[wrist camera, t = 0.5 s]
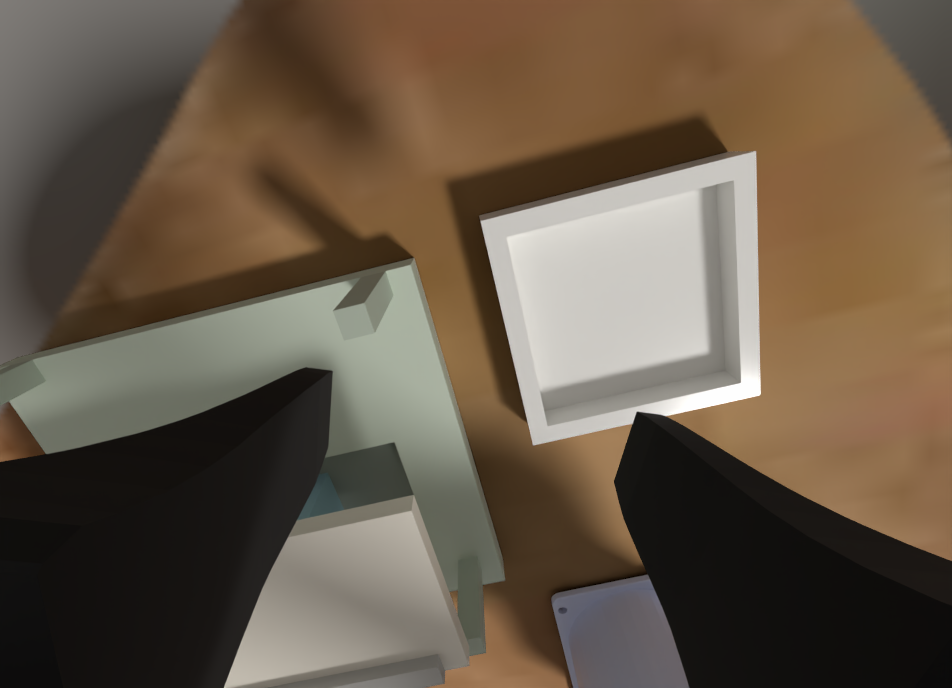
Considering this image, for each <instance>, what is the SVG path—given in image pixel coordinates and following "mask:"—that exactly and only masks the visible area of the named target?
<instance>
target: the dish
mask: <svg viewBox="0 0 952 688" xmlns="http://www.w3.org/2000/svg"><path fill="white" fill-rule="evenodd" d="M479 218H480V222H481V227H482V231H483V235H484V239H485V244H486V248H487V252H488V256H489V261H490V265H491V269H492V273H493V278H494V282H495V286H496V290H497V295H498V299H499V303H500V308H501V312H502V316H503V320H504V325H505V329H506V333H507V337H508V342H509V346H510V350H511V354H512V359H513V363H514V367H515V371H516V376H517V380H518V384H519V388H520V393H521V397H522V401H523V405H524V410H525V414H526V418H527V422H528V427H529V431H530V435H531V439H532V443H533V445H538V444H542V443H547V442H551V441H556V440H560V439H565V438H569V437H574V436H578V435H583V434H587V433H592V432H596V431H601V430H605V429H610V428H614V427H619V426H623V425H628V424H632V423H633V421H634V418H635V415H636V412H644V413H652V414H659V415H663V416H668V415H673V414H677V413H682V412H686V411H691V410H695V409H700V408H704V407H709V406H713V405H718V404H722V403H727V402H731V401H736V400H740V399H745V398H749V397H754V396H758V395H760V344H759V289H758V234H757V180H756V151H738V152H726V153H722V154H718V155H714V156H710V157H706V158H702V159H698V160H694V161H691V162H687V163H683V164H679V165H675V166H671V167H667V168H663V169H659V170H655V171H651V172H647V173H643V174H640V175H636V176H632V177H628V178H624V179H620V180H616V181H612V182H608V183H604V184H600V185H596V186H593V187H589V188H585V189H581V190H577V191H573V192H569V193H565V194H561V195H557V196H553V197H549V198H545V199H542V200H538V201H534V202H530V203H526V204H522V205H518V206H514V207H510V208H506V209H502V210H498V211H495V212H491V213H487V214H483V215H479Z"/></svg>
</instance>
